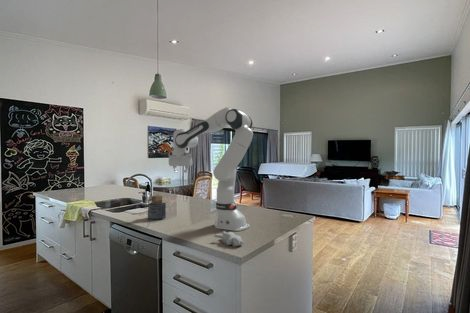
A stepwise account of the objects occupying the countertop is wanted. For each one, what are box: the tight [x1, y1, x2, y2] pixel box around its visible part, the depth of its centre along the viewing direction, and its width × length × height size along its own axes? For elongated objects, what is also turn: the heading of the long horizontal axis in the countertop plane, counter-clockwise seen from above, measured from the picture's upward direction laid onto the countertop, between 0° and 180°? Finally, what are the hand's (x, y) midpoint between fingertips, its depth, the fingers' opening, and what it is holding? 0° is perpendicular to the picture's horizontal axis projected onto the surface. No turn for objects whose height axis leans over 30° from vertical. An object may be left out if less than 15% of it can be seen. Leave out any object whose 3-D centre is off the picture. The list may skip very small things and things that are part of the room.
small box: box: [147, 202, 167, 221], centre depth 183 cm, size 11×6×10 cm, turn 85°
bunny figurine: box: [214, 230, 244, 248], centre depth 135 cm, size 10×5×15 cm
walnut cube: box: [150, 194, 163, 204], centre depth 183 cm, size 5×5×5 cm
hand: (180, 172), depth 188 cm, fingers open, 8 cm apart
